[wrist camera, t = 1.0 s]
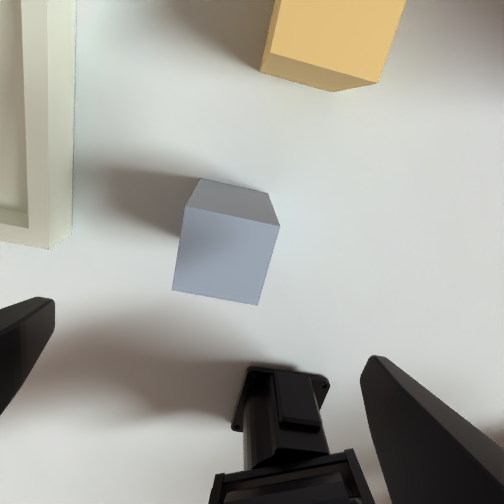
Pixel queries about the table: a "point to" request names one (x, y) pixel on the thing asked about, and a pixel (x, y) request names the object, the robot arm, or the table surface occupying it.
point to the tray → (36, 120)
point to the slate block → (225, 242)
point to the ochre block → (330, 41)
